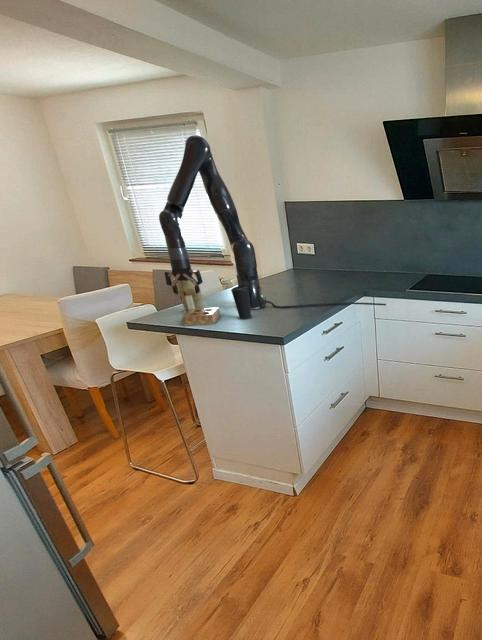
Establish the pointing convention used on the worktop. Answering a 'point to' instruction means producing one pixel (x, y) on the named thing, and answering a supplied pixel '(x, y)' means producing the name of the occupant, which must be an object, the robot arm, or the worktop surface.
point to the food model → (190, 293)
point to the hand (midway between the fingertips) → (187, 293)
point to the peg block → (201, 316)
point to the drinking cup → (242, 300)
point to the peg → (190, 302)
